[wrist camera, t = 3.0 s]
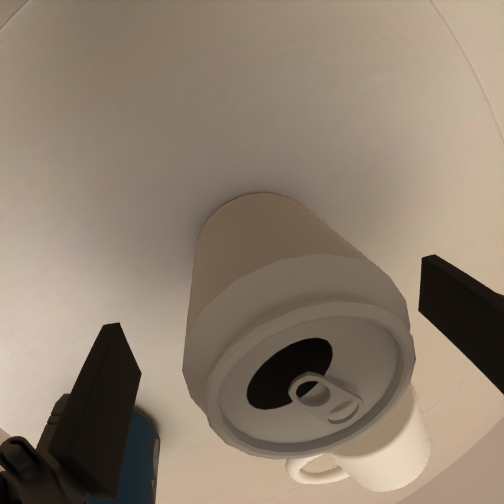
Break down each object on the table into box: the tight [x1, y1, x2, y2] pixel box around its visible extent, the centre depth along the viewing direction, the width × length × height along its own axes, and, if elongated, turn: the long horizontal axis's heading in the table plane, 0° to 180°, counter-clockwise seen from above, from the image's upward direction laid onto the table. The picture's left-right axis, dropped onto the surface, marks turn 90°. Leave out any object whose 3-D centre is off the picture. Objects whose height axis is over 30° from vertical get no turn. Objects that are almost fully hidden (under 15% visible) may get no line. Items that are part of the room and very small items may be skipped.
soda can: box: [85, 409, 160, 504], centre depth 17 cm, size 7×7×12 cm
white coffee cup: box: [285, 382, 431, 492], centre depth 22 cm, size 12×10×8 cm
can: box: [182, 193, 416, 459], centre depth 13 cm, size 8×8×12 cm
